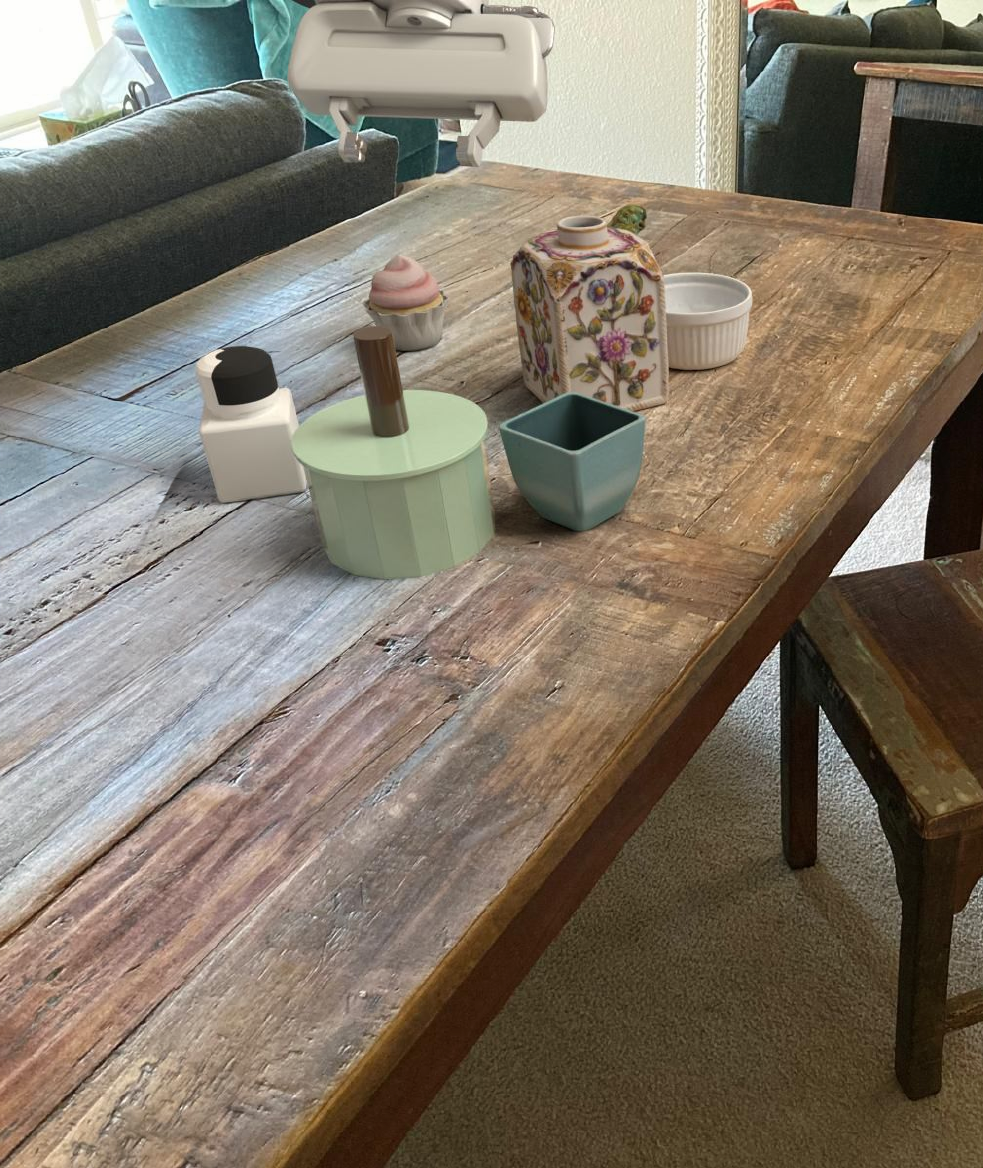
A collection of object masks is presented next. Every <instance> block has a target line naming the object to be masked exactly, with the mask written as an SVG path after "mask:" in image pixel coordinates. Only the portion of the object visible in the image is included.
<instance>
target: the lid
mask: <svg viewBox="0 0 983 1168" xmlns="http://www.w3.org/2000/svg"><path fill="white" fill-rule="evenodd" d="M352 339H353V343H354V348H355V353H356V359H357V363H358V369H359V372H360V378H361V383H362V387H363V393H364V395H359V396H354V397H352V398H348V399H345V400H341V401H339V402H337V403H334V404H330V405H329V406H327V407H324V408H323V409H321V410H319V411H317V412H315V413H313V414H312V415H310V416H309V417H307V418H306V419H305V420H304V421H302V422H301V423H300V424H299V427H298V428H297V429H296V430H295V432H294V434H293V436H292V440H291V447H292V451H293V454H294V457H295V458H296V459H297V461H298V462H299V463H300V464H301V465H303V466H304V467H305V468H307V469H309V470H311V471H313V472H315V473H318V474H320V475H324V476H328V477H332V478H338V479H344V480H354V481H378V480H391V479H399V478H405V477H411V476H415V475H420V474H424V473H427V472H431V471H434V470H437V469H440V468H443V467H445V466H448V465H450V464H452V463H455V462H457V461H458V460H460V459H462V458H464V457H466V456H467V455H469V454H470V453H471V452H473V451H474V450H475V449H476V448H477V447H479V446H480V444H481V443H482V442H483V441H484V442H485V439H486V437H487V436H488V433H489V432H488V431H489V420H488V417H487V415H486V413H485V411H484V410H483V409H482V408H481V407H480V406H479V405H478V404H476V403H475V402H474V401H472V400H470V399H467V398H466V397H463V396H459V395H457V394H453V393H448V392H443V391H436V390H428V389H427V390H426V389H403V384H402V379H401V373H400V368H399V362H398V356H397V352H396V351H397V350H395V345H394V340H393V335H392V330H391V329H390V328H388V327H384V326H376V325H370V326H365V327H361V328H358V329H356V330H355V331H354V332H353V333H352Z"/></svg>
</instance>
